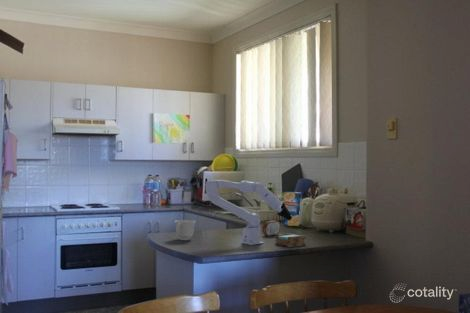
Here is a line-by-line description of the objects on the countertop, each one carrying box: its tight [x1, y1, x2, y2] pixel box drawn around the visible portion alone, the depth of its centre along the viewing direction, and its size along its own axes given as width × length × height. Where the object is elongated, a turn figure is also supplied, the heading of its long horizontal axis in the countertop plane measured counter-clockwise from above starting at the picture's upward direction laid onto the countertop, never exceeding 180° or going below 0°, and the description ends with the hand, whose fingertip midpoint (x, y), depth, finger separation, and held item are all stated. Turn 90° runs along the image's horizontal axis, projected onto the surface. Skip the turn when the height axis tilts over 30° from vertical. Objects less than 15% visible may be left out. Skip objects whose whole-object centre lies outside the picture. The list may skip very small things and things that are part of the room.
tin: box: [261, 219, 281, 237], centre depth 299 cm, size 15×3×8 cm, turn 141°
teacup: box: [173, 219, 197, 241], centre depth 277 cm, size 12×15×10 cm
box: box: [274, 232, 306, 248], centre depth 266 cm, size 12×10×5 cm
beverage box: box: [283, 191, 303, 227], centre depth 346 cm, size 7×11×22 cm, turn 71°
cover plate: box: [278, 233, 300, 240], centre depth 267 cm, size 11×8×1 cm
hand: (290, 217), depth 270 cm, fingers open, 7 cm apart
